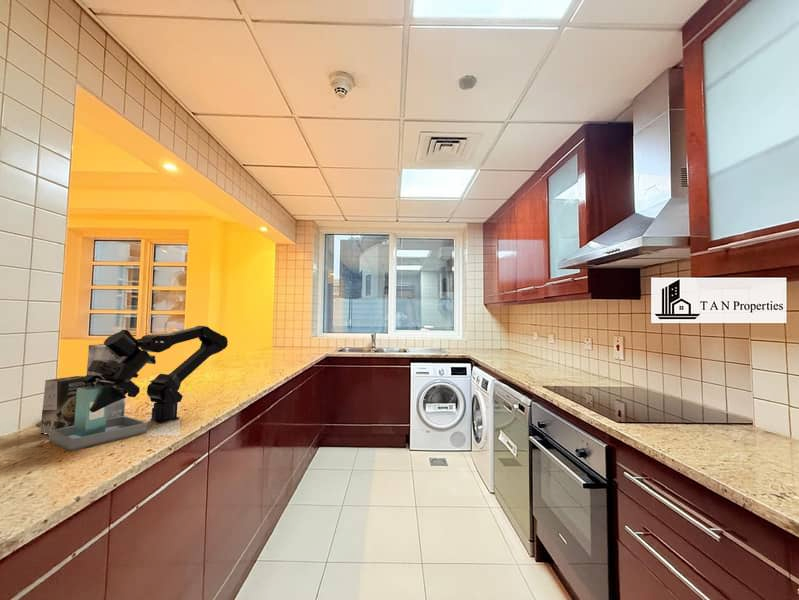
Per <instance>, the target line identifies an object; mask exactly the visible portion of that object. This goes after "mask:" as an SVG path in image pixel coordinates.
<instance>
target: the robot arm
mask: <svg viewBox="0 0 799 600" xmlns="http://www.w3.org/2000/svg"><path fill="white" fill-rule="evenodd" d="M195 339H198V340H199V341H200V342H201V343H200V346H199V348H198V349H197V350H195V352H193V354H191V355H190V356H189V357H188V358H186V359H184V361H183V362H181V364H179V365H178V366H177V367H176V368H175V369H174V370H172V371H171V372H169V373H159V374H158V375H157V376H155V378H153V379H152V380H150V381H149V382H150V383H149V384H148V385H147V387H146V394H147V396H148V397H149V399H150V400H149V401H150V402H151V403H153V407H152V408H151V416H150V417H151V418H150V420H149V421H150V422H154V423H156V424H162V423H168V422H171V421H175V420H179V419H180V417H179V416H178V403H181V402H182V399H183V394H182V393H180V392H179V390H180V387H181V384H182V382H183V381H184V380H186V379H187V377H189V376H190V375H191V374H193V372H194V371H195V370H197V369H198V368H199V367H200V366H201V365H202V364H203V363H204V362H206V360H207V359H209V358H210V357H211V356H213V355H216V354H219V353H220V352H222V351H224V350H225V349H227V347H228V344H229V343H228V342H229V341H228V338H227V336H225V335H222V334H220V332H217V331H215V330H213V329H211V328H210V327H208V325H197V326H194V327H190V328H186V329H182V330H178V331H173V332H169V333H153V334H145V335H143V336H141V338H138V339H136V338H135V337H134V336H133V335H132V334H131V332H130V331H129V330H128V329H121V331H118V332H115V333H114V334H112V335H110V336H108V337H107V338H106V339H105V340H104V341H103V344H104V345H105V346H106V347H107V348H109V349H110V350H111V351H112V352H113V353H114V354H116V355H117V356H118V357H123V356H124V357H125V358H124V359H123V360H122V361H121V362H120V363H118V362H117V361H114V360H109V361H108V362H103V361H97V360H93V361H92V363H91V365H90V367H89V368H88V370H87V369H86V372H87V371H93V372H97V373H100V374H101V375H100V376H101V377H100V376H99V375H93V374H90V375H87V374H86V375H85V377H84V378H83V379H82V381H83V382H84V383H86V385H88V387H90V386H97V385H98V386H105V392H104V394H103V395H102V396H101V397H100V398H99V400H98V401H97V402H96V403H95V404H94V406H93V407H92V408H91V410H90V411H91V412H96V411H98V410H100V409H102V408H104V407H106V406H108V405H110V404H112V403H114V402H116V401H119V400H121V399H123V398H124V399H125V398H126V399H127V397H129V398H136V397H137V396H138V394H139V393H140V392H141V391H140V390H141V389H140V387H139V386H138V385H137V384H136V383H135V382H133V381H132V379H134V378H135V379H136V378H138V376H140V375H139V374H138V373H139V372H140V371H142V369H143V367H145V366H146V365H147V364H150V365H156V363H157V360H156V355H152V354H150V353H157V354H159V353H162V352H164V351H166V350H169V349H171V347H172V346H175V345H177V344H180V343H184V342H187V341H192V340H195ZM103 378H104V379H103ZM125 395H126V396H125Z"/></svg>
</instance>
